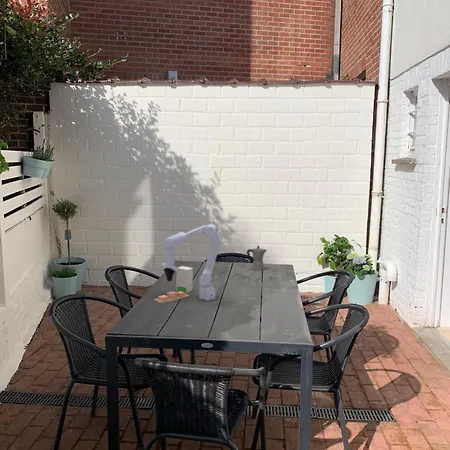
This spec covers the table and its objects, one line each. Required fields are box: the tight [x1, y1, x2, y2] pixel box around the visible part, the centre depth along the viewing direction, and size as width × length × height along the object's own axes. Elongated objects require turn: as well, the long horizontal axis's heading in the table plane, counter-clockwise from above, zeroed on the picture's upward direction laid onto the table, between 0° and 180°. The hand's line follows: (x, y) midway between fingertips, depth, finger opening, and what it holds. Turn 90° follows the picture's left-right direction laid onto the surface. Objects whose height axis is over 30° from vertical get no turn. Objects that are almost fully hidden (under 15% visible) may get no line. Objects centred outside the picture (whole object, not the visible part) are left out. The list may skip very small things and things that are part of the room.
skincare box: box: [175, 265, 194, 294], centre depth 291 cm, size 8×7×16 cm
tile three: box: [157, 294, 168, 301], centre depth 271 cm, size 4×4×4 cm
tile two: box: [166, 290, 177, 299], centre depth 274 cm, size 4×4×4 cm
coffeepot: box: [246, 245, 267, 272], centre depth 355 cm, size 15×9×18 cm, turn 103°
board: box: [153, 293, 191, 304], centre depth 275 cm, size 8×20×2 cm, turn 132°
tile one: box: [175, 291, 186, 297], centre depth 279 cm, size 4×4×4 cm
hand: (169, 280), depth 278 cm, fingers closed
